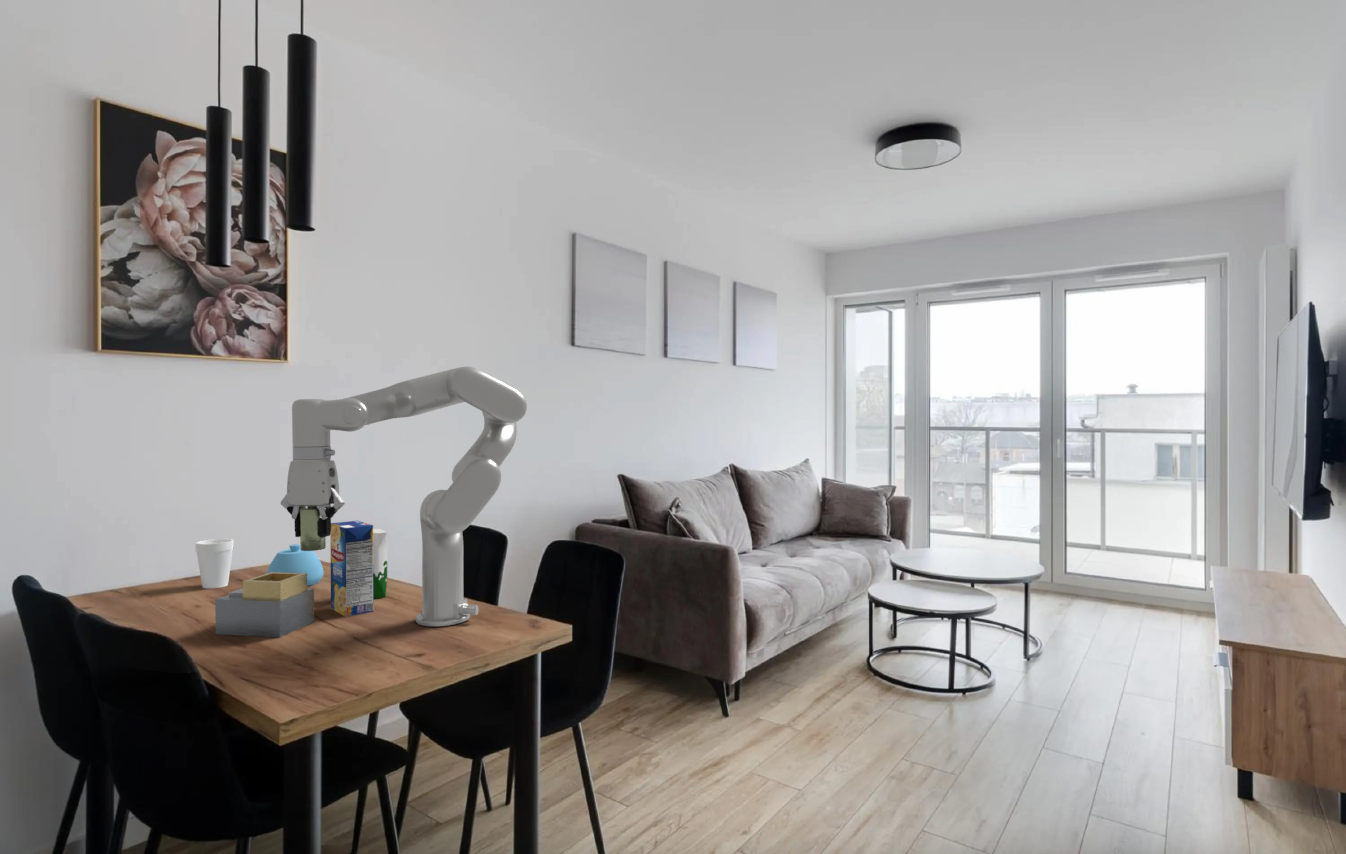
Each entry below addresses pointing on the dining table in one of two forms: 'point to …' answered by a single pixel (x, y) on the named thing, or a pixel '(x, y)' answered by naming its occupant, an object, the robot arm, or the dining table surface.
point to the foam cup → (214, 561)
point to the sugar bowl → (298, 563)
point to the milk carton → (379, 563)
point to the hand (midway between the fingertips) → (313, 535)
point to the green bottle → (310, 529)
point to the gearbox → (266, 606)
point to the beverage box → (352, 568)
